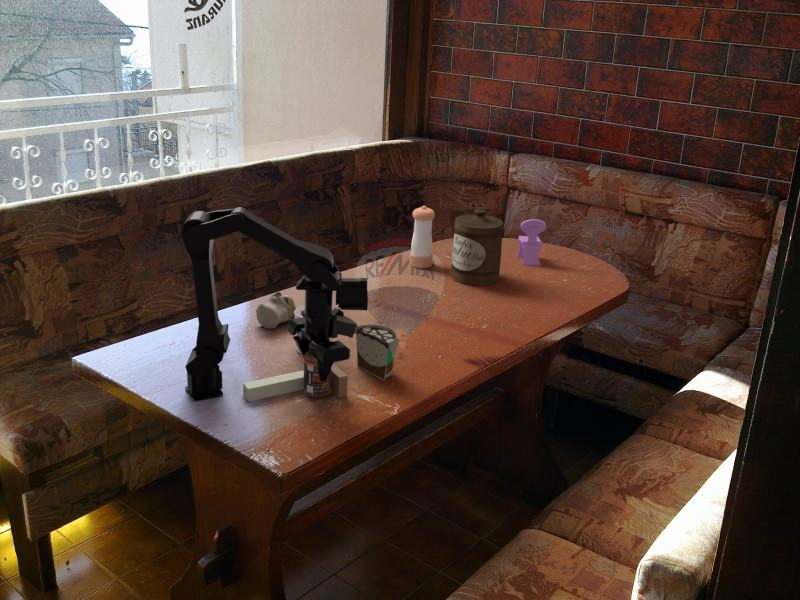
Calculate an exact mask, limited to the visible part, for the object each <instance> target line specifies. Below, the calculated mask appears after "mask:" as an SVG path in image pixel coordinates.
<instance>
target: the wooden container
mask: <svg viewBox="0 0 800 600" xmlns="http://www.w3.org/2000/svg"><path fill="white" fill-rule="evenodd" d="M454 219H455V220H454V233H453V242H452V243H453V245H452V256H451V269H450V270H451V271H450V277H451V278H452V279H453V280H454V281H456V282H458V283H461V284H464V285H469V286H490V285H493V284H495V283H497V282H498V281H499V279H500V270H501V260H502V245H503V244H502V243H503V233H504V232H503V231H504V221H503V220H502V219H500V218H498V217H496V216H493V215H486V210H485V209H484V208H483V207H477V208H476V209H474V211H473V214H465V215H464V214H463V215H459V216H457V217H456V218H454Z"/></svg>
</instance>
